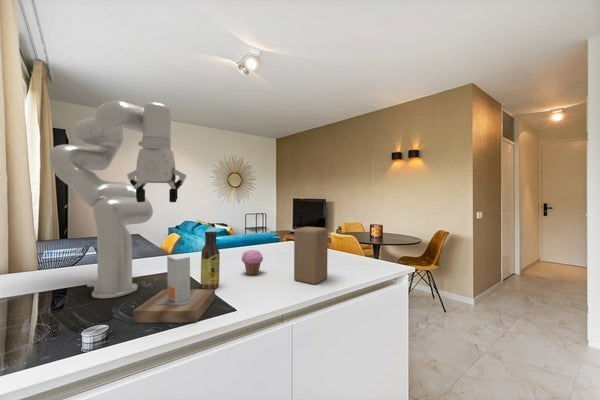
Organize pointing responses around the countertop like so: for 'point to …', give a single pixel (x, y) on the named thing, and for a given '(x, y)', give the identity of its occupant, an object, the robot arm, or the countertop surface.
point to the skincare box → (178, 277)
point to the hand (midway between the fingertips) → (157, 202)
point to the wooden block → (310, 254)
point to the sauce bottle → (210, 262)
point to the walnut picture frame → (174, 308)
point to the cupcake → (252, 261)
